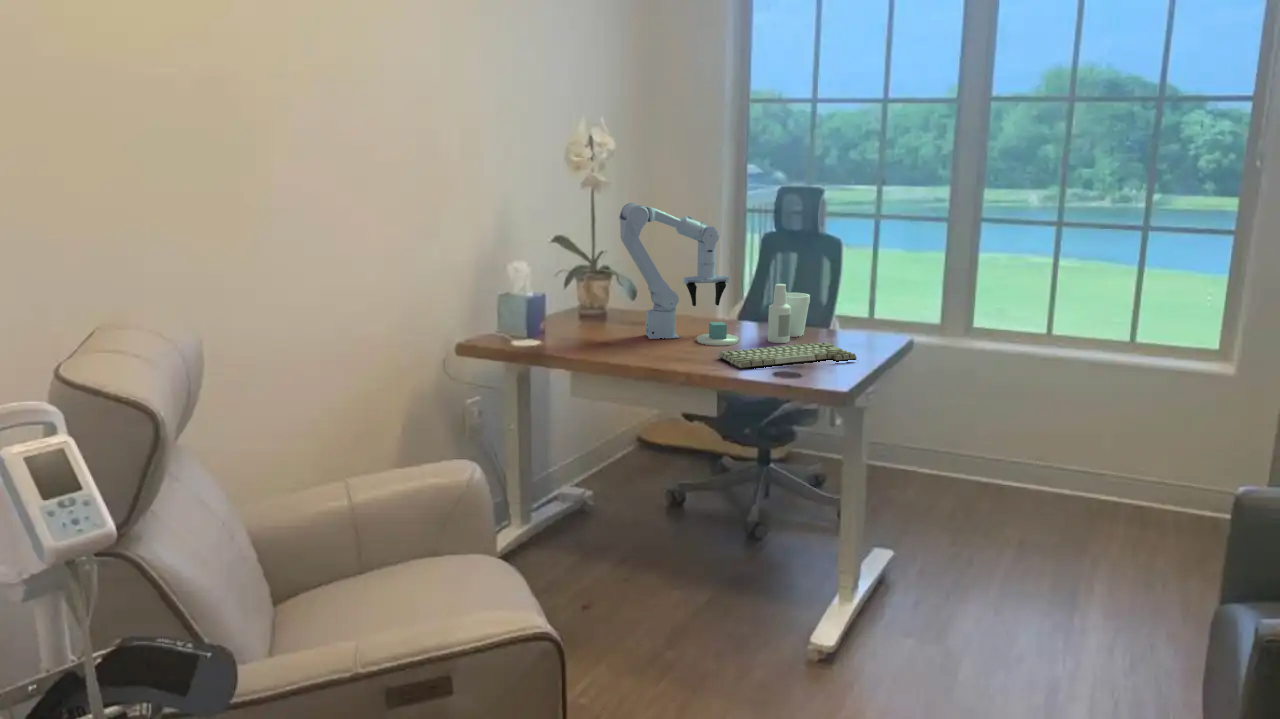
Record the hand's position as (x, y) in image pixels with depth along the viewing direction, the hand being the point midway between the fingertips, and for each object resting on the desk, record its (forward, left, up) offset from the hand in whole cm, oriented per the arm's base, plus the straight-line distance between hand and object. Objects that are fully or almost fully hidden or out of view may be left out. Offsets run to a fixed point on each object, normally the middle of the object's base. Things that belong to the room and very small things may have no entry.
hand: (705, 305), depth 328 cm
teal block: (+1, -12, -8) cm, 15 cm away
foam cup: (+28, -6, -10) cm, 30 cm away
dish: (+1, -12, -9) cm, 15 cm away
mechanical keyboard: (+15, -40, -10) cm, 44 cm away
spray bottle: (+20, -15, -10) cm, 27 cm away
